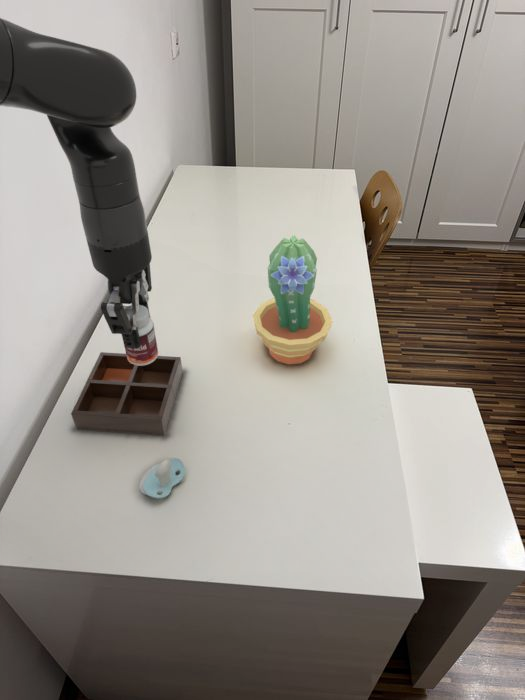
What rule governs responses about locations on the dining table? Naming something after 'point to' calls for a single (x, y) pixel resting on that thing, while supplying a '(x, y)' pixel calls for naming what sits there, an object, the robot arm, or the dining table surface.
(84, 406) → the grid
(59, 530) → the dining table surface
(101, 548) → the dining table surface
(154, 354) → the pill bottle
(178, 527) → the dining table surface
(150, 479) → the pacifier
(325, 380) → the dining table surface
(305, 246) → the potted cactus
